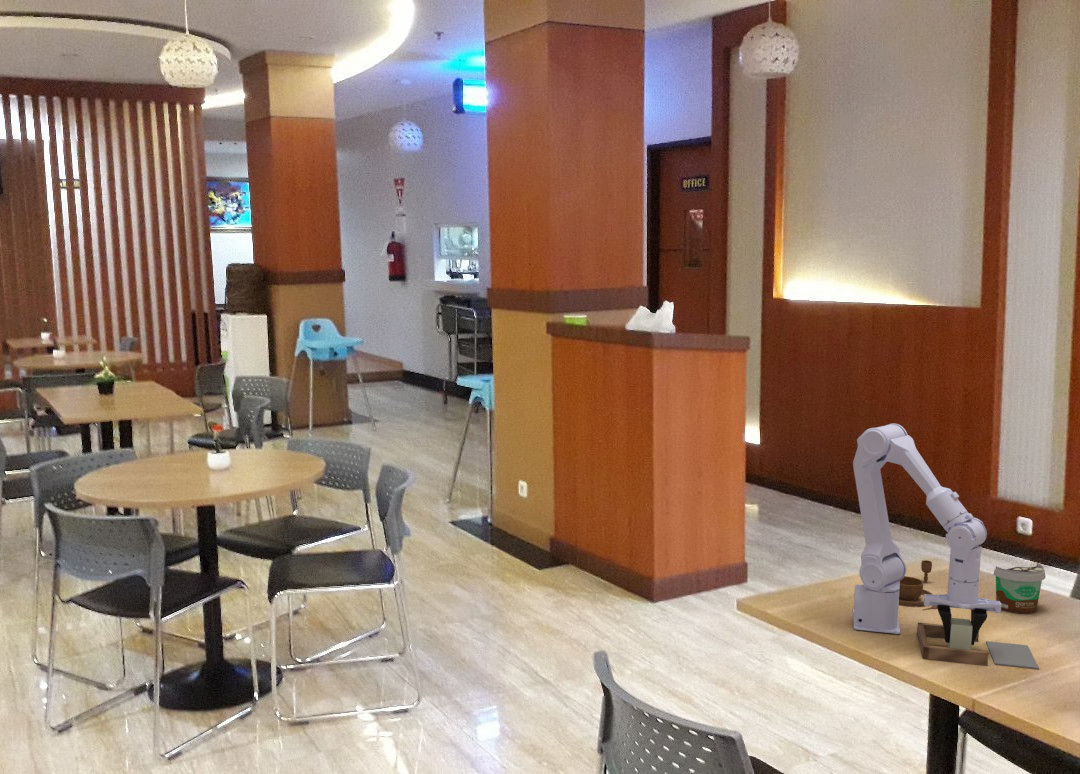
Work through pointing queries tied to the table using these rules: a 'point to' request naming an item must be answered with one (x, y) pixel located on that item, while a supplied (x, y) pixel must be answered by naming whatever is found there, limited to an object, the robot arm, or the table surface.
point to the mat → (1011, 655)
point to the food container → (1019, 588)
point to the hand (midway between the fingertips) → (959, 642)
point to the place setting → (915, 587)
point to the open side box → (946, 652)
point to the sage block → (960, 634)
